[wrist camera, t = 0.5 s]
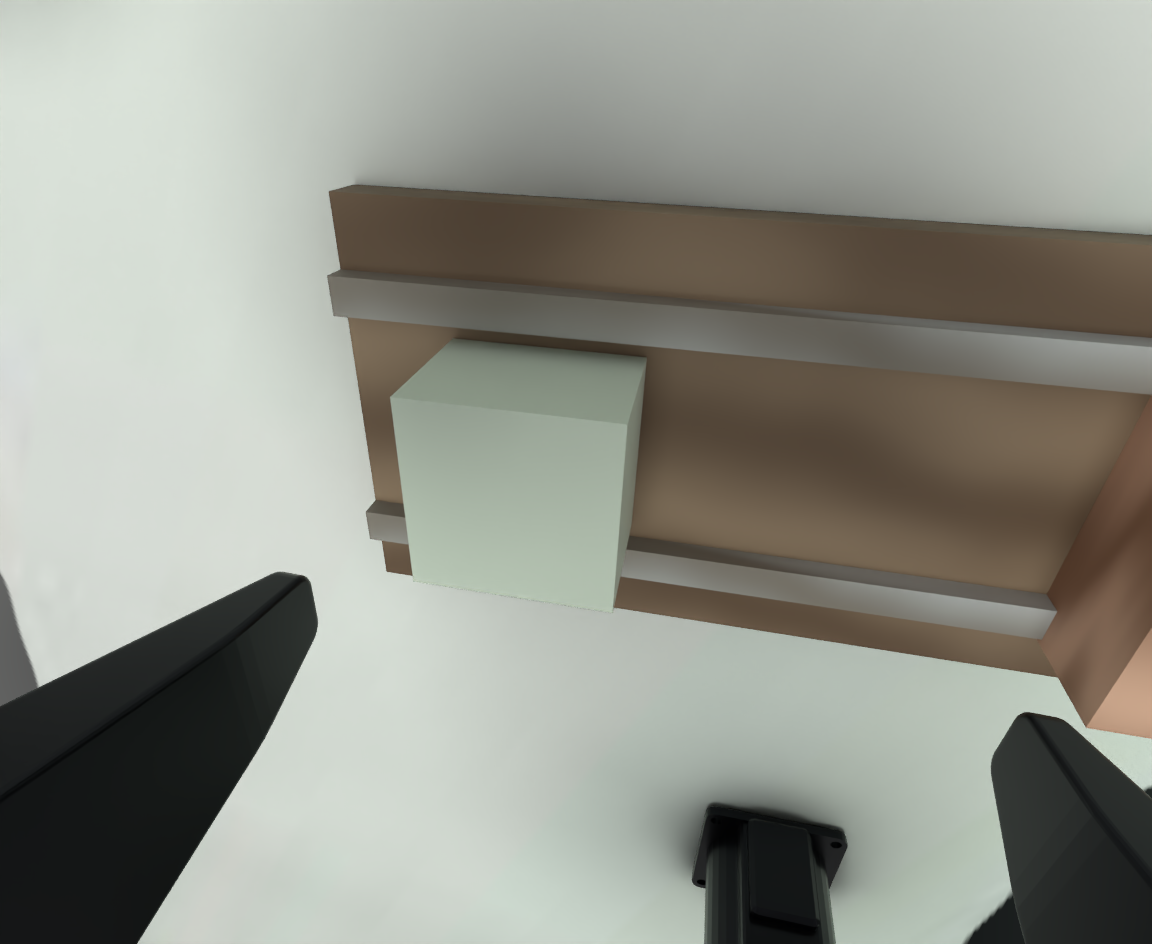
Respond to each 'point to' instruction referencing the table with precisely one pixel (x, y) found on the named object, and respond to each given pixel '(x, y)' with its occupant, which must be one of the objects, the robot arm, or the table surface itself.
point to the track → (818, 413)
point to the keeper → (520, 469)
